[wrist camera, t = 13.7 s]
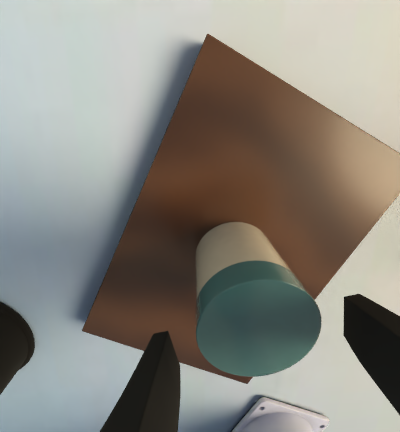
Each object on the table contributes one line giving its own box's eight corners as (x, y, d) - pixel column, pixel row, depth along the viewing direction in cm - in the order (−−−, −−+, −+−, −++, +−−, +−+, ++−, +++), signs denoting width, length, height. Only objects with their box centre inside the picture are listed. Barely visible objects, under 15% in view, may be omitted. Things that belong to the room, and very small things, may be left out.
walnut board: (244, 370, 20) (247, 384, 19) (88, 318, 18) (81, 331, 16) (403, 163, 14) (421, 166, 13) (205, 42, 12) (207, 32, 11)
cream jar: (256, 295, 16) (291, 384, 10) (185, 281, 15) (182, 367, 10) (284, 231, 14) (344, 294, 9) (206, 212, 14) (216, 266, 8)
